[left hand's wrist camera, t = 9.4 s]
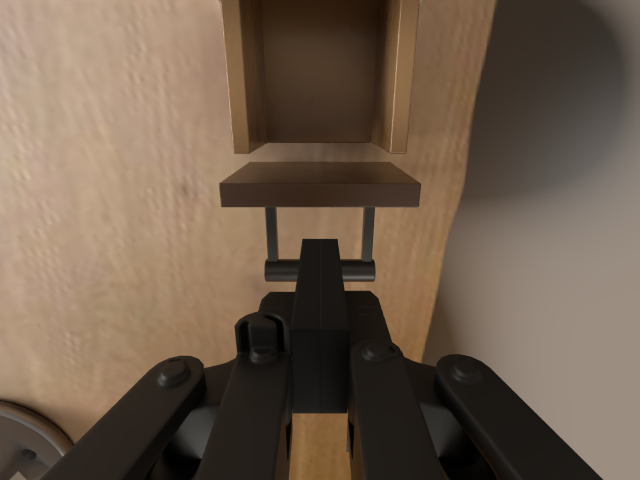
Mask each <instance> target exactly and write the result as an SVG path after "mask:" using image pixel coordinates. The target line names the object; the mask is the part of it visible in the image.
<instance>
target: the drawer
mask: <svg viewBox="0 0 640 480" xmlns="http://www.w3.org/2000/svg"><path fill="white" fill-rule="evenodd" d="M220 1H221V13H222V24H223V36H224V48H225V59H226V71H227V82H228V94H229V106H230V117H231V129H232V140H233V152H234V153H235V154H249V153H251V152H253V151H254V150H256V149H258V148H260V147H261V146H263V145H265V144H267V143H373V144H375V145H377V146H379V147H380V148H382V149H384V150H386V151H387V152H389V153H391V154H405V153H406V151H407V139H408V128H409V117H410V105H411V94H412V82H413V71H414V59H415V48H416V36H417V25H418V13H419V2H420V0H220ZM219 190H220V200H221V207H265V216H266V233H267V250H268V259H266V261H265V268H264V274H265V280H266V282H297V276H298V269H299V261H300V259H278V258H279V254H278V232H277V211H276V207H364V209H363V230H362V252H361V259H340V261H341V269H342V276H343V282H374V280H375V262H374V259H372V248H373V231H374V214H375V207H419V199H420V190H421V184H420V183H419V182H418V181H416V180H415V179H413V178H412V177H411V176H409V175H408V174H406V173H405V172H403V171H402V170H401V169H399V168H398V167H396V166H395V165H394V164H392V163H391V162H249V163H248V164H246V165H245V166H243V167H242V168H241V169H239V170H238V171H236V172H235V173H234V174H232V175H231V176H229V177H228V178H226V179H225V180H224V181H222V182H221V183H219Z"/></svg>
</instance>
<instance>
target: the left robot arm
mask: <svg viewBox="0 0 640 480" xmlns="http://www.w3.org/2000/svg"><path fill="white" fill-rule="evenodd" d="M235 335H236V345H237V356H236V358H235V359H233V360H231V361H229V362H227V363H224V364H220V365H216V366H212V367H208V368H204V366H203V363H202V362H201V361H200V360H199V359H197V358H195V357H192V356H177V357H173V358H169V359H167V360H164V361H162V362H160V363H158V364H157V365H156V366H154V367H153V368H152V369H150V370H149V371H148V372H147V373H146V374H145V375H144V376H143V377H142V378H141V379H140V380H139V381H138V382H137V383H136V384H135V385H134V386H133V387H132V388H131V389H130V390H129V391H128V392H127V393H126V394H125V395H124V396H123V397H122V398H121V399H120V400H119V401H118V402H117V403H116V404H115V405H114V406H113V407H112V408H111V409H110V410H109V411H108V412H107V413H106V414H105V415H104V416H103V417H102V418H101V419H100V420H99V421H98V422H97V423H96V424H95V425H94V426H93V427H92V428H91V429H90V430H89V431H88V432H87V433H86V434H85V435H84V436H83V437H82V438H81V439H80V440H79V441H78V442H77V443H76V444H75V445H74V446H73V445H72V444H71V442H70V441H69V440H68V438H67V437H66V436H65V435H64V434H63V433H62V432H61V431H60V430H59V429H58V428H57V427H56V426H54V425H53V424H52V423H50V422H49V421H48V420H46V419H45V418H43V417H41V416H40V415H38V414H36V413H34V412H32V411H30V410H28V409H25V408H23V407H20V406H17V405H14V404H11V403H7V402H3V401H0V480H289V468H290V456H291V444H292V432H293V429H292V411H293V413H347V410H348V429H347V452H349V455H350V467H351V479H352V480H603V479H602V478H601V477H600V476H599V475H598V474H597V473H596V472H595V471H594V470H593V469H592V468H591V467H590V466H589V465H588V464H587V463H586V462H585V461H584V460H583V459H582V458H581V457H580V456H579V455H578V454H577V453H576V452H574V450H573V449H572V448H571V447H570V446H569V445H567V444H566V443H565V442H564V441H563V440H562V439H561V438H560V437H559V436H558V435H557V434H556V433H555V432H554V431H553V430H552V429H551V428H550V427H549V426H548V425H547V424H546V423H545V422H544V421H543V420H542V419H541V418H540V417H539V416H538V415H537V414H536V413H535V412H534V411H533V410H532V409H531V408H530V407H529V406H528V405H527V404H526V403H525V402H524V401H523V400H522V399H521V398H520V397H519V396H518V395H517V394H516V393H515V392H514V391H513V390H512V389H511V388H510V387H509V386H508V385H507V384H506V383H505V382H504V381H503V380H502V379H501V378H500V377H499V376H498V375H497V374H496V373H495V372H494V371H493V370H492V369H491V368H489V367H488V366H487V365H485V364H484V363H483V362H481V361H479V360H477V359H475V358H472V357H469V356H465V355H460V354H454V355H447V356H445V357H442V358H441V359H440V360H439V361H438V362H437V366H436V367H434V366H430V365H425V364H421V363H418V362H414V361H412V360H410V359H407V358H405V357H404V356H403V353H402V351H401V350H400V348H399V347H398V346H397V345H395V344H394V343H393V342H392V340H391V337H390V334H389V331H388V328H387V325H386V321H385V318H384V316H383V312H382V309H381V305H380V302H379V299H378V298H377V297H376V296H375V295H374V294H373V293H372V292H371V291H345V290H344V283H343V276H342V269H341V261H340V254H339V247H338V240H337V239H303V240H302V247H301V254H300V261H299V269H298V276H297V283H296V290H295V292H269V293H268V294H267V295H266V296H265V297H264V298H263V299H262V300H261V304H260V307H259V310H258V312H255V313H252V314H249V315H246V316H244V317H243V318H241V319H240V320H239V321H238V322H237V323H236V325H235Z"/></svg>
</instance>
